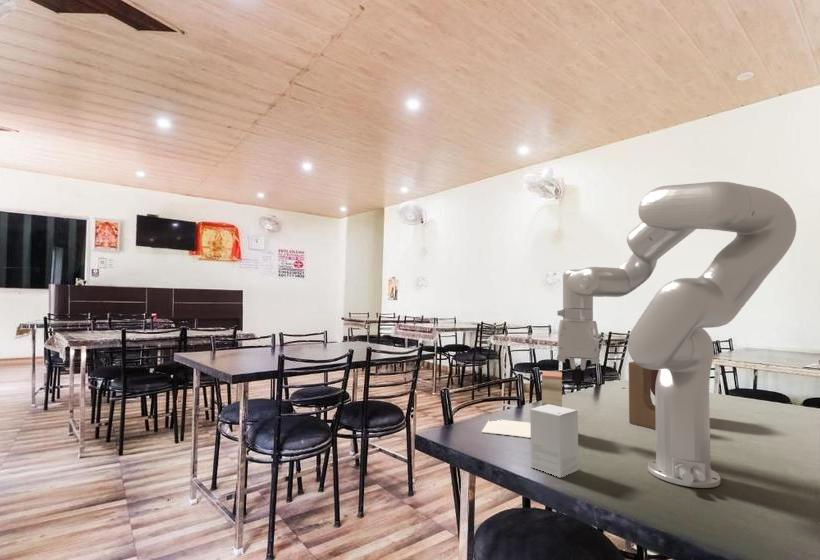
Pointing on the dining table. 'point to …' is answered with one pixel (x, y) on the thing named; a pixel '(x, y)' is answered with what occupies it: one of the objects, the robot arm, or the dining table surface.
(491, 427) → the pad
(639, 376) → the wooden block
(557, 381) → the ash block
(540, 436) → the supplement box
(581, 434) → the dining table surface
